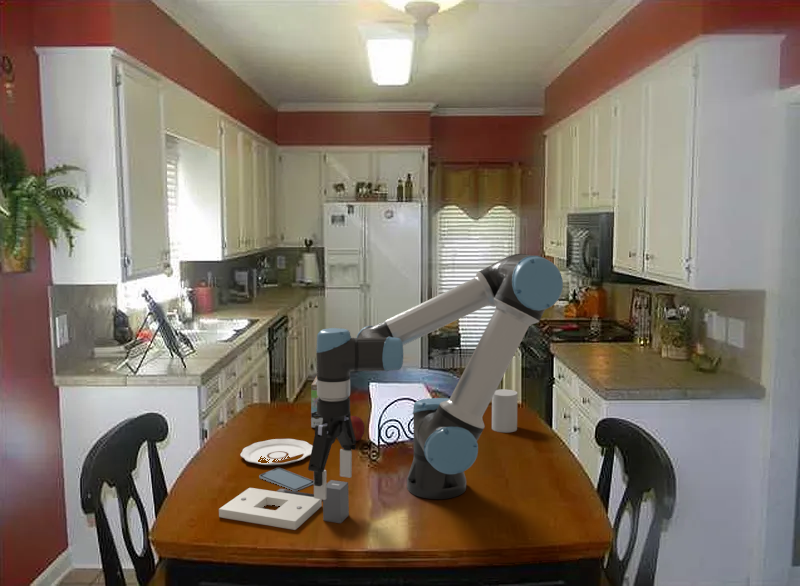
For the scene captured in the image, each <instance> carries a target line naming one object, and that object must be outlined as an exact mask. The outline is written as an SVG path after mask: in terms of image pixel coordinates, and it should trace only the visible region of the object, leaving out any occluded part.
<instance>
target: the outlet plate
mask: <svg viewBox="0 0 800 586" xmlns="http://www.w3.org/2000/svg"><path fill="white" fill-rule="evenodd" d="M267 505H268V506H272V505H275V506H274V507H278V506H280V507H278V508H277V509H275V510H274V509H269V508H265V507H266V506H267ZM264 506H265V507H264ZM321 507H323V500H322V499H316V498H314V497H310V496H303V495H296V494H289V493H283V492H277V490H276V491H275V490H268V489H261V488H254V487H249V488H246V489H245V490H244V491H242V492H241V493H239V495H237V496H235V497H234V498H233V499H231V500H230V501H228V502H227V503H225V504H224V505H223V506H221V507H220V508H218V517H219V518H223V519H228V520H234V521H240V522H246V523H250V524H251V523H252V524H257V525H264V526H270V527H276V528H282V529H287V530H294V531H296V530H297V529H298V528H299V527H301V526H302V525H303V524H304V523H305V522H306V521H307V520H308V519H309V518H310V517H312V516H313V515H314V514H315V513H316V512H317V511H318V510H320V508H321Z"/></svg>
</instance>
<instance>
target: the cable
mask: <svg viewBox="0 0 800 586" xmlns="http://www.w3.org/2000/svg"><path fill="white" fill-rule="evenodd" d="M276 492H283V493H289V494H296V495H303V496H310V497H314V493H308V492H303V491H302V492H300V491H291V490H289V489H286V488H279V489H277V490H276Z"/></svg>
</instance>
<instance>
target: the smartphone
mask: <svg viewBox="0 0 800 586" xmlns="http://www.w3.org/2000/svg"><path fill="white" fill-rule="evenodd" d="M258 477H259V479H260V480H262V479H263V481H265V480H266V481H265V482H267V483H270V482H271V483H270V484H273V483H274V484H273V485H275V484H277V485H276V486H278V485H279V487H281V486H282V487H281V488H283V487H285V488H284V489H286V488H287V489H286V490H289V489H290V490H289V491H291V490H292V491H295V492H299V491H301V490H304V489H307V488H308V487H310V486H314V479H310V478H308V477H304V476H302V475H300V474H297V473H294V472H292V471H289V470H286V469H284V468H281V467H276V468H274V469H271V470H268V471H266V472H263V473H261V474H259V476H258ZM298 490H299V491H298Z"/></svg>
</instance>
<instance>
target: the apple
mask: <svg viewBox="0 0 800 586" xmlns="http://www.w3.org/2000/svg"><path fill="white" fill-rule="evenodd" d="M351 422H352V426H353V430H354V434H355V439H356V442H359V441H360V440H361V439H362V438H363V436H364V434H365V423H364V421H363V419H362V418H361V417H359V416H356V415H351ZM350 439H351V438H350Z"/></svg>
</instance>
